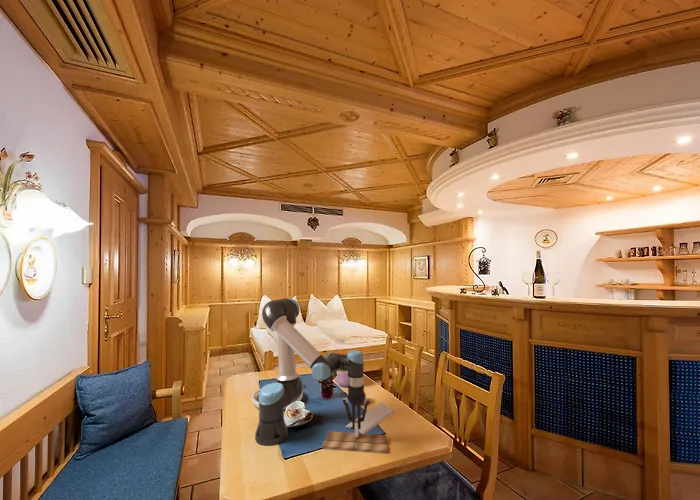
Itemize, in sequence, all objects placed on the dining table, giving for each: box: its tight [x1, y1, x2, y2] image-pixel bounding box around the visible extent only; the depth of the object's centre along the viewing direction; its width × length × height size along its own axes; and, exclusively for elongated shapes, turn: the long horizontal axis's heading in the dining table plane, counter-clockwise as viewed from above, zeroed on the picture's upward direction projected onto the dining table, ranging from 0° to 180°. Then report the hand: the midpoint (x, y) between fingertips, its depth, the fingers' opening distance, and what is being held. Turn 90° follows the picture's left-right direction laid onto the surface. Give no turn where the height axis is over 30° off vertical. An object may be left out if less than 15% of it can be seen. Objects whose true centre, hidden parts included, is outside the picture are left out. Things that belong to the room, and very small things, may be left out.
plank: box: [325, 430, 387, 445], centre depth 148 cm, size 28×6×1 cm, turn 82°
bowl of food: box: [334, 370, 349, 388], centre depth 217 cm, size 20×20×12 cm
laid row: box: [321, 439, 388, 454], centre depth 142 cm, size 29×5×1 cm, turn 82°
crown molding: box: [344, 402, 395, 434], centre depth 169 cm, size 29×12×4 cm, turn 143°
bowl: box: [251, 387, 304, 411], centre depth 191 cm, size 30×30×8 cm
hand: (356, 435), depth 148 cm, fingers closed
